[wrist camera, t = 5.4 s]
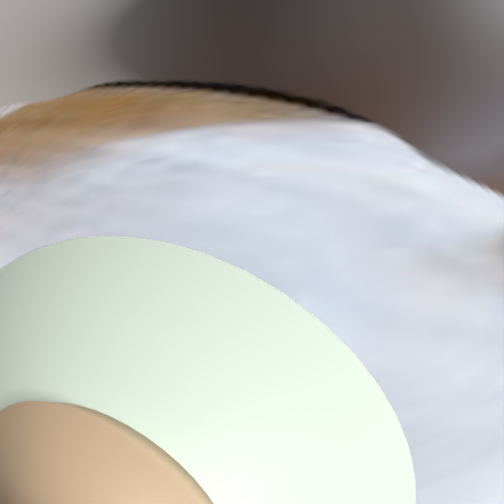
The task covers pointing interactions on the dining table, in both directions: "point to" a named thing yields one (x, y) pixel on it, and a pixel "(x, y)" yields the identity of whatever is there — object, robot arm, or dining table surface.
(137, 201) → the dining table surface
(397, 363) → the dining table surface
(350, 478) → the paper roll
